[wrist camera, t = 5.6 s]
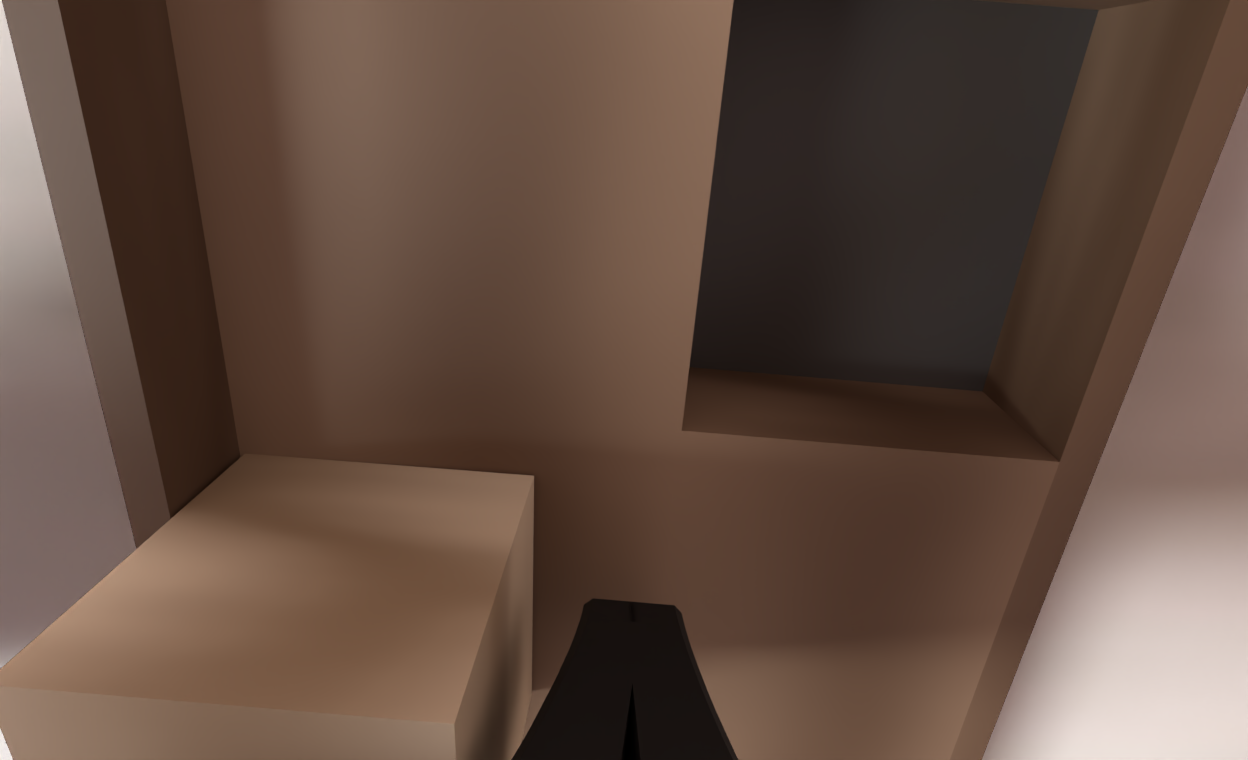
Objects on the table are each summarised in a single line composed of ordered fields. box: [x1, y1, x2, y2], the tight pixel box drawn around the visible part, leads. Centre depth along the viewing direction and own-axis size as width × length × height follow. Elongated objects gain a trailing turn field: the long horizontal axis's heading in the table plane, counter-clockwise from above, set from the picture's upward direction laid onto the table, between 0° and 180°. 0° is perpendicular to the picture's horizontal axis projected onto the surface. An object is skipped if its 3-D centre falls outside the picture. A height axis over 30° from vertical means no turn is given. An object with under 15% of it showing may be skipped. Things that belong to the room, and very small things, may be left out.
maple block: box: [0, 454, 534, 760], centre depth 8 cm, size 4×4×4 cm
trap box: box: [2, 0, 1248, 760], centre depth 11 cm, size 12×26×4 cm, turn 176°
